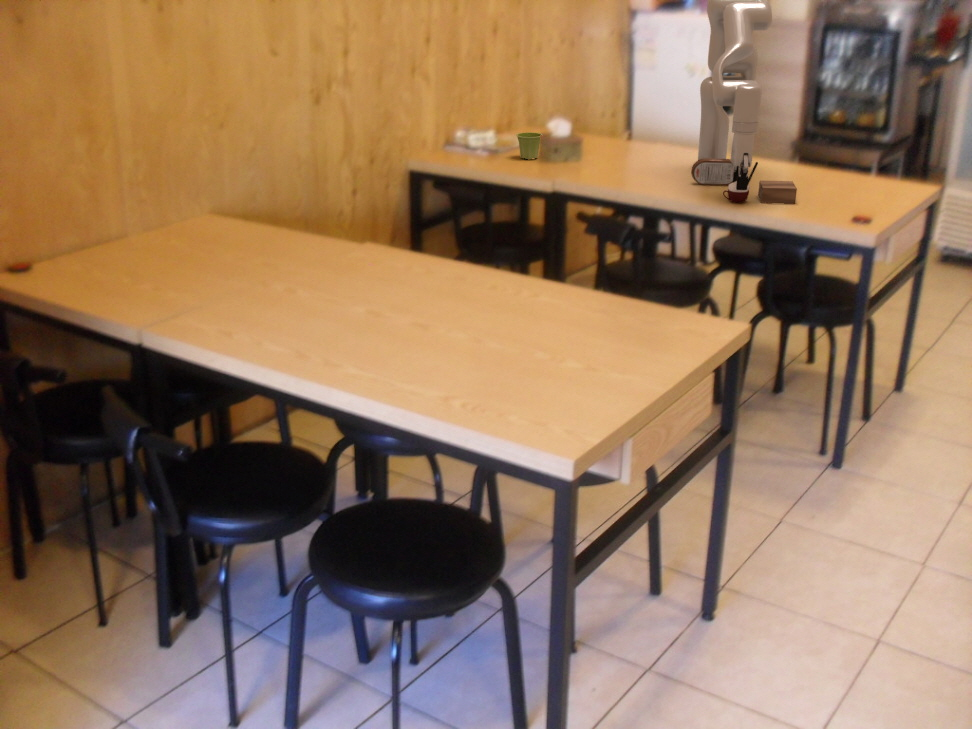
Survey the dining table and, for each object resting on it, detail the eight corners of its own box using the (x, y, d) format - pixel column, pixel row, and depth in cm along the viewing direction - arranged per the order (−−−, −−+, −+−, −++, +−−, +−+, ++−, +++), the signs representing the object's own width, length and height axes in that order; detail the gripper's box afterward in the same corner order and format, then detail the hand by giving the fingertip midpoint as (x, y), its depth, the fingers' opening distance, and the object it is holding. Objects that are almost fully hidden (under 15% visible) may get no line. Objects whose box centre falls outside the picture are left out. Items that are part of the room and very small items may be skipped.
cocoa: (721, 203, 315) (722, 164, 310) (727, 198, 320) (728, 159, 315) (752, 205, 311) (754, 165, 306) (757, 200, 316) (759, 161, 311)
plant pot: (545, 160, 374) (545, 136, 371) (520, 161, 372) (520, 137, 368) (537, 155, 382) (537, 131, 379) (512, 156, 380) (513, 133, 377)
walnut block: (757, 196, 323) (759, 180, 321) (790, 197, 322) (792, 181, 320) (761, 204, 314) (762, 187, 312) (795, 205, 313) (796, 188, 311)
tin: (737, 184, 338) (739, 158, 334) (738, 186, 335) (740, 160, 332) (690, 183, 339) (692, 157, 336) (691, 185, 336) (692, 159, 333)
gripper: (727, 122, 315) (722, 180, 322) (737, 132, 299) (731, 193, 306) (752, 122, 315) (747, 181, 322) (763, 132, 299) (757, 194, 306)
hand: (739, 186), depth 314 cm, fingers closed on cocoa, 5 cm apart
